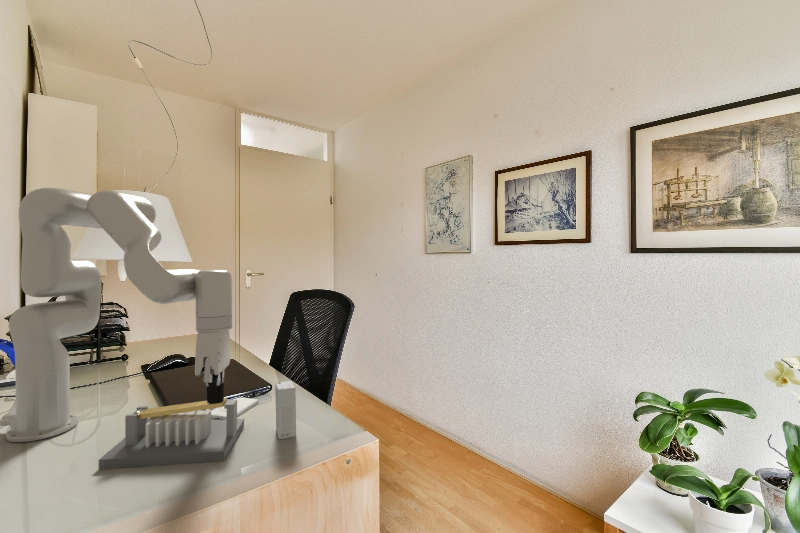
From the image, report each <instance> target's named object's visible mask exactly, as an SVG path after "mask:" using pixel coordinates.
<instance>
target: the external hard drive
mask: <svg viewBox="0 0 800 533" xmlns="http://www.w3.org/2000/svg"><path fill="white" fill-rule="evenodd" d="M232 399H233V398H232ZM233 400H237V418H238V417H239V416H241V414H244V413H245V412H247V411H248V410H250V409H251V408H253V407H254V406H257V405H258V404H259V403H260V401H259V400H260V399H257V398H249V397H240V398H236V399H233ZM215 418H216V419H217V418H219V419H218V420H222V419H223V420H227V409H224V406H223V407H219V408H213V409H211V419H215Z"/></svg>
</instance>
